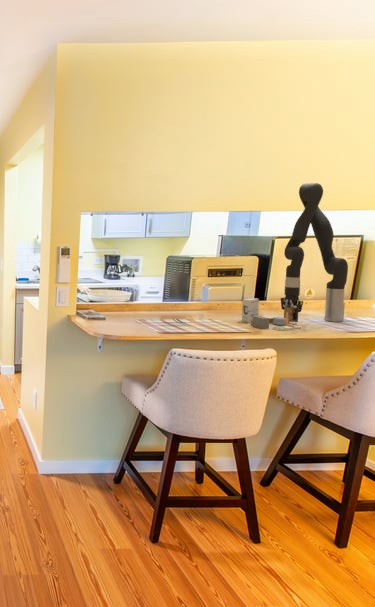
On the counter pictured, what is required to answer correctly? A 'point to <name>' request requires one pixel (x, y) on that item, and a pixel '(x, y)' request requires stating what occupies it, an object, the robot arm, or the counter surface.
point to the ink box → (249, 309)
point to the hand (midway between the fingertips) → (290, 319)
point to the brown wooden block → (289, 314)
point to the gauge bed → (264, 324)
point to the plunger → (282, 320)
